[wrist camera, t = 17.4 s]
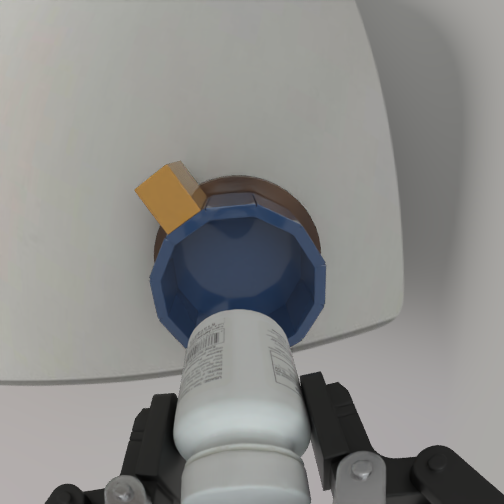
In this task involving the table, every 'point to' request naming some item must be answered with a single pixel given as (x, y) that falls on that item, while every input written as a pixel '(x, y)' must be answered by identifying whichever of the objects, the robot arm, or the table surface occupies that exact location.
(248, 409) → the pill bottle
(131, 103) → the table surface
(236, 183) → the turntable
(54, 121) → the table surface
